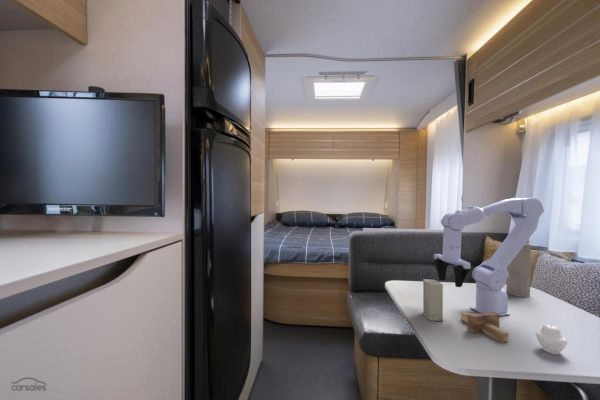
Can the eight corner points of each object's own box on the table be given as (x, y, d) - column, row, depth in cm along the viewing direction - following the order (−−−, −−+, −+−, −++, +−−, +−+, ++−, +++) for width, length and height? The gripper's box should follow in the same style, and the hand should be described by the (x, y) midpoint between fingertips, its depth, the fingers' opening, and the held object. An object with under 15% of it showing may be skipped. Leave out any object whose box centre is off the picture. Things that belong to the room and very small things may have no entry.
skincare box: (443, 321, 88) (443, 285, 88) (429, 320, 88) (430, 284, 88) (435, 313, 94) (435, 279, 94) (422, 312, 94) (422, 278, 94)
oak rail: (467, 319, 89) (467, 312, 89) (508, 341, 76) (508, 333, 76) (461, 320, 89) (462, 312, 89) (502, 342, 75) (502, 333, 75)
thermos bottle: (519, 290, 120) (521, 229, 120) (535, 297, 112) (536, 231, 112) (501, 290, 120) (503, 228, 120) (516, 296, 112) (517, 230, 112)
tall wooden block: (493, 327, 84) (494, 311, 84) (499, 330, 82) (499, 314, 82) (467, 330, 82) (467, 314, 82) (472, 333, 80) (472, 316, 80)
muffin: (529, 344, 75) (530, 319, 75) (551, 345, 74) (552, 320, 74) (549, 357, 68) (550, 330, 68) (573, 358, 68) (574, 331, 68)
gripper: (428, 242, 103) (426, 277, 103) (459, 250, 89) (457, 290, 89) (443, 242, 104) (441, 276, 105) (476, 250, 90) (474, 289, 90)
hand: (450, 283), depth 97 cm, fingers open, 7 cm apart
